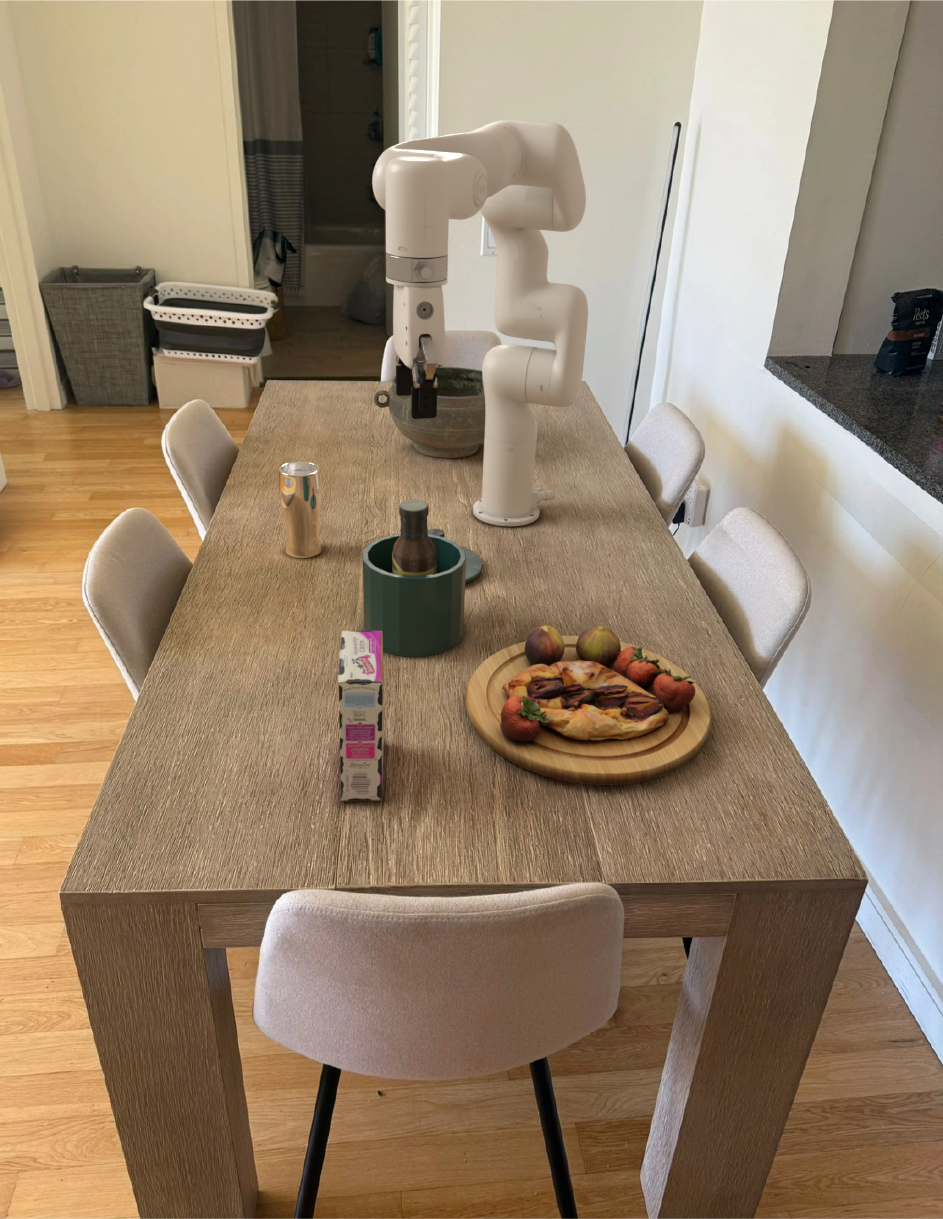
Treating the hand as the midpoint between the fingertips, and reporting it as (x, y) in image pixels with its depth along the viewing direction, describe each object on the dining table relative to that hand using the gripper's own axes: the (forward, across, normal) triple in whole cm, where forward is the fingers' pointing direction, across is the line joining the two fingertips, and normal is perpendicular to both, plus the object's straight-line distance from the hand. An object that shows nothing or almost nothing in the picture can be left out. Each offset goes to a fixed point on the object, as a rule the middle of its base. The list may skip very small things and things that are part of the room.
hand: (415, 405), depth 124 cm
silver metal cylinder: (+34, +30, +13) cm, 47 cm away
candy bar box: (+34, -30, +13) cm, 48 cm away
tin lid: (+34, +19, -8) cm, 39 cm away
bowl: (+34, +76, -24) cm, 87 cm away
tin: (+34, 0, 0) cm, 34 cm away
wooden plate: (+34, -25, -18) cm, 46 cm away
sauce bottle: (+34, 0, 0) cm, 34 cm away
